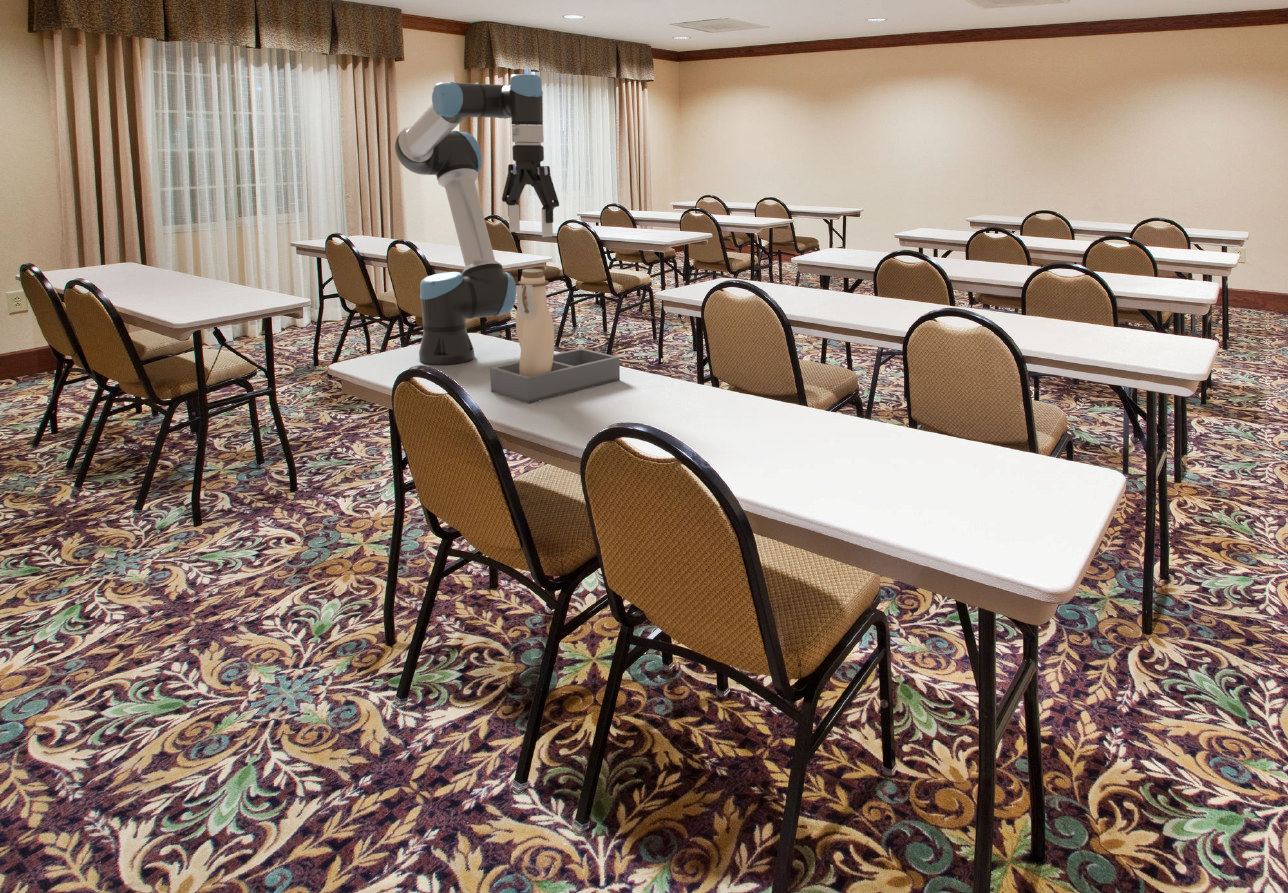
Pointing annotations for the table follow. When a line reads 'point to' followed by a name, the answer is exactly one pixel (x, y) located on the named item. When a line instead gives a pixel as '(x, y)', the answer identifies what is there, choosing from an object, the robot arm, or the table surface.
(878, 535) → the table surface
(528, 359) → the water bottle
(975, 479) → the table surface
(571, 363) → the bottle caddy
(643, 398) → the table surface
